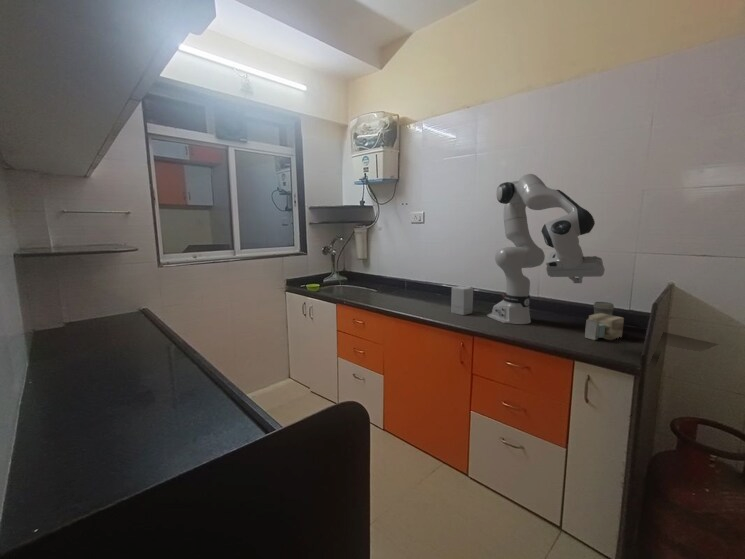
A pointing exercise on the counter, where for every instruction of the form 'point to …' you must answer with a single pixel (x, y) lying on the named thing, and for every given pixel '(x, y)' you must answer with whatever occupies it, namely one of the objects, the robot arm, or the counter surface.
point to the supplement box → (462, 300)
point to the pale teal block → (601, 330)
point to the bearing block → (610, 325)
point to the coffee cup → (603, 308)
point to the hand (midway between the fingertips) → (578, 282)
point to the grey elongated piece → (592, 329)
